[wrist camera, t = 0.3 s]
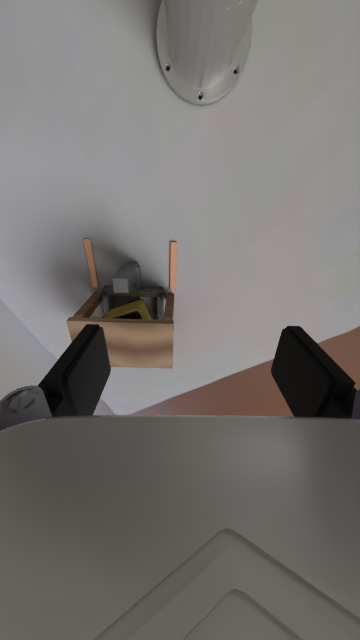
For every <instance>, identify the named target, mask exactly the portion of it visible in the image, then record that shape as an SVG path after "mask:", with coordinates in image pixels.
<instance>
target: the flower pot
mask: <svg viewBox="0 0 360 640" xmlns="http://www.w3.org/2000/svg"><path fill="white" fill-rule="evenodd" d="M129 313H131V314H132V315H129ZM138 317H140V318H141V319H142V320H152V318H151V316H150V314H149V312H148V309H147V307H146V305H145V303H144V301H143V300H137V301H134V302H131V303H128V304H125V305H122V306H119V307H116V308H113V309H111V310H110V311H109V312H108V313H107V314H106V315H105V316H103V317H102V318H109V319H139V318H138Z"/></svg>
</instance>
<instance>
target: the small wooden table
mask: <svg viewBox="0 0 360 640" xmlns="http://www.w3.org/2000/svg"><path fill="white" fill-rule="evenodd" d="M101 301H102V296H101V292H95V293H94V294H93V295H92V296H91V297H90V298H89V299H88V300H87V301H86V303H85V304H84V305H83V306H82V307H81V308H80V309H79V310H78V311H77V312H76V313H75V315H74V316H73V317H69V319H68V320H67V325H68V328H69V332H70V336H71V340H72V342H73V340H74V339H75V338H76V337H77V335H78V334H79V333H80V331H81V330H82V329H83V328H84V326H85V325H86V324H99V326H100V327H103V330H104V335H105V340H106V346H107V351H108V356H109V361H110V367H138V368H172V366H173V327H174V325H173V321H174V320H173V310H174V294H167V298H166V305H165V312H164V319H163V320H142V319H109V318H89V317H90V316H91V314H92V313H93V312H94V310H95V309H96V308H97V307H98V305H99V304H100V303H101Z"/></svg>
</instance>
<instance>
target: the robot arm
mask: <svg viewBox="0 0 360 640" xmlns="http://www.w3.org/2000/svg"><path fill="white" fill-rule="evenodd" d="M257 1H258V0H162V1H161V4H160V7H159V13H158V18H157V30H156V40H157V51H158V57H159V62H160V65H161V69H162V72H163V74H164V76H165V79H166V81H167V83H168V84H169V86H170V87H171V89H172V90H173V91H174V92H175V94H176V95H177V96H178V97H180V98H181V99H182V100H184V101H185V102H187V103H190V104H193V105H199V106H203V105H210V104H212V103H215V102H217V101H219V100H220V99H221V98H223V97H224V96H225V95H226V94H227V93H228V92H229V91H230V90H231V89H232V88H233V86H234V85H235V83H236V82H237V80H238V79H239V77H240V75H241V73H242V71H243V68H244V66H245V63H246V61H247V57H248V53H249V49H250V43H251V36H252V17H251V16H252V14H253V11H254V9H255V6H256V4H257ZM167 68H169V69H170V70H169V71H167V70H166V69H167ZM234 71H236V72H237V74H234ZM199 96H201V97H202V99H201V100H199V99H198V97H199ZM110 370H111V367H110V361H109V356H108V351H107V346H106V340H105V335H104V330H103V327H100V326H99V324H86V325H85V326H84V328H83V329H82V330H81V331H80V333H79V334H78V335H77V337H76V338H75V339H74V340H73V342H72V343H71V344H70V345H69V347H68V348H67V349H66V351H65V352H64V353H63V354H62V356H61V357H60V358H59V359H58V361H57V362H56V363H55V365H54V366H53V367H52V368H51V370H50V371H49V372H48V374H47V375H46V376H45V377H44V379H43V380H42V381H41V382H40V384H39V385H38V386H25V387H22V388H18V389H16V390H14V391H12V392H10V393H9V394H8V395H6V396H5V397H4V398H3V399H2V400H1V401H0V640H360V389H359V390H356V389H355V388H354V385H355V382H354V381H353V380H352V379H351V378H350V377H349V376H348V375H347V374H346V373H345V372H344V371H343V370H342V369H341V368H340V367H339V366H338V365H337V364H336V363H335V362H334V361H333V360H332V358H331V357H330V356H329V355H328V354H326V352H325V351H324V350H323V349H322V348H321V347H320V346H319V345H318V344H317V343H316V342H315V341H314V340H313V339H312V338H311V337H310V336H309V335H308V334H307V333H306V332H305V331H304V330H303V329H302V328H301V327H300V326H287V327H286V328H285V329H283V330H282V333H281V336H280V340H279V343H278V347H277V350H276V354H275V357H274V361H273V364H272V368H271V373H272V376H273V378H274V380H275V382H276V383H277V385H278V387H279V389H280V391H281V393H282V395H283V396H284V398H285V400H286V402H287V404H288V406H289V408H290V410H291V411H292V413H293V415H294V417H279V416H278V417H277V416H275V417H274V416H188V415H186V416H184V415H183V416H182V415H179V416H178V415H93V413H94V411H95V408H96V405H97V403H98V401H99V399H100V396H101V394H102V391H103V389H104V387H105V384H106V382H107V379H108V377H109V375H110Z"/></svg>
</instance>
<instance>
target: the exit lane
mask: <svg viewBox="0 0 360 640" xmlns="http://www.w3.org/2000/svg"><path fill="white" fill-rule="evenodd" d="M84 243H85V249H86V254H87V260H88V265H89V271H90V276H91V282H92V287H98V281H97V275H96V269H95V263H94V257H93V251H92V245H91V239H84ZM176 257H177V242H171V263H170V290H176Z"/></svg>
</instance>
